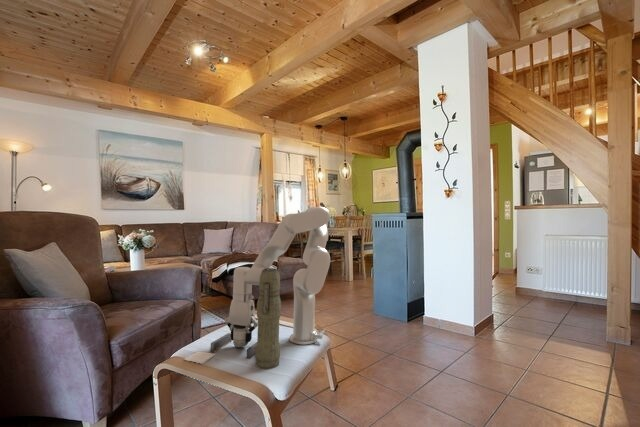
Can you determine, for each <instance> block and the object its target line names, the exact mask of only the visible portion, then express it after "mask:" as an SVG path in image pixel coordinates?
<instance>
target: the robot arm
mask: <svg viewBox="0 0 640 427" xmlns="http://www.w3.org/2000/svg"><path fill="white" fill-rule="evenodd" d="M330 218H331V214H330V211H329V209H328V208H326V207H324V206H313V207H308V208H307V209H306V210H305V211H301V212H297V213H288V214H286V215H284V217H283V218H282V220H281V221H280V223H279V224H278V226H277V228H276V229H275V231H274V233H273V235H272V237H271V238H270V239H269V241H268V243H267V244H266V245H265V246H264V248H263V249H262V250H261V252H260V253H258V256H257V257H256V259H255V261H254V263H253V264H252V266H251V267H249V266H240V267H239V266H237V267H235V268H234V270H233V282H232V283H233V286H232V287H233V289H232V300H231V302H230V306H229V314H228V316H227V317H226V318H225V319H224V322H225V324H226V325H227V327H228V328H229V331H230V333H231V341H233V330H234V327H235V326H236V325H240V326H245V327H246V330H247V333H246V343H248V344H249V342H251V341H252V337H253V335H252V334H253V331H254V330H255V329H256V328H258V320H256V312H255V311H256V310H255V303H254V300H253V299H255V296H254V295H253V293H252V291H253V289H252V288H253V286H259V283H260V275H261V272H262V270H264V269H266V268H271V266H272V265H273V263H274V262H275V261H276V260H277V259H278V258H279V257H280V256H282V255H283V254H285V253H286V252H287V251H288V249H289V247H290V245H291V243H292V242H293V241H294V239H295V237H296V235H297V234H301V233H306V232H308V231H309V235H308V240H307V243H306V245H305V248H304V252H303V255H302V261H303V263H304V264H305V265H306V266H307V267H306V268H300V269H298V270H297V271H296V272H295V273H294V275H293V277H292V278H293V279H292V285H293V326H292V327H293V328H292V329H293V330H292V334H290V335H289V341H290V342H291V343H293V344H296V345H311V344H314V343H316V342H317V341H318V339H319V340H323V338H324V334H323V333H322V332H318V331H317V328H315V323H316V322H315V316H316V313H315V311H316V294H319V292H321V291H322V289H323V287H324V284H325V281H326V278H327V275H328V272H329V269H330V265H331V256H330V253H329V251H328V250H327V249H326V246H327V242H328V238H329V231H328V230H329V229H328V225H327V224H328V223H329V222H330Z"/></svg>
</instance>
